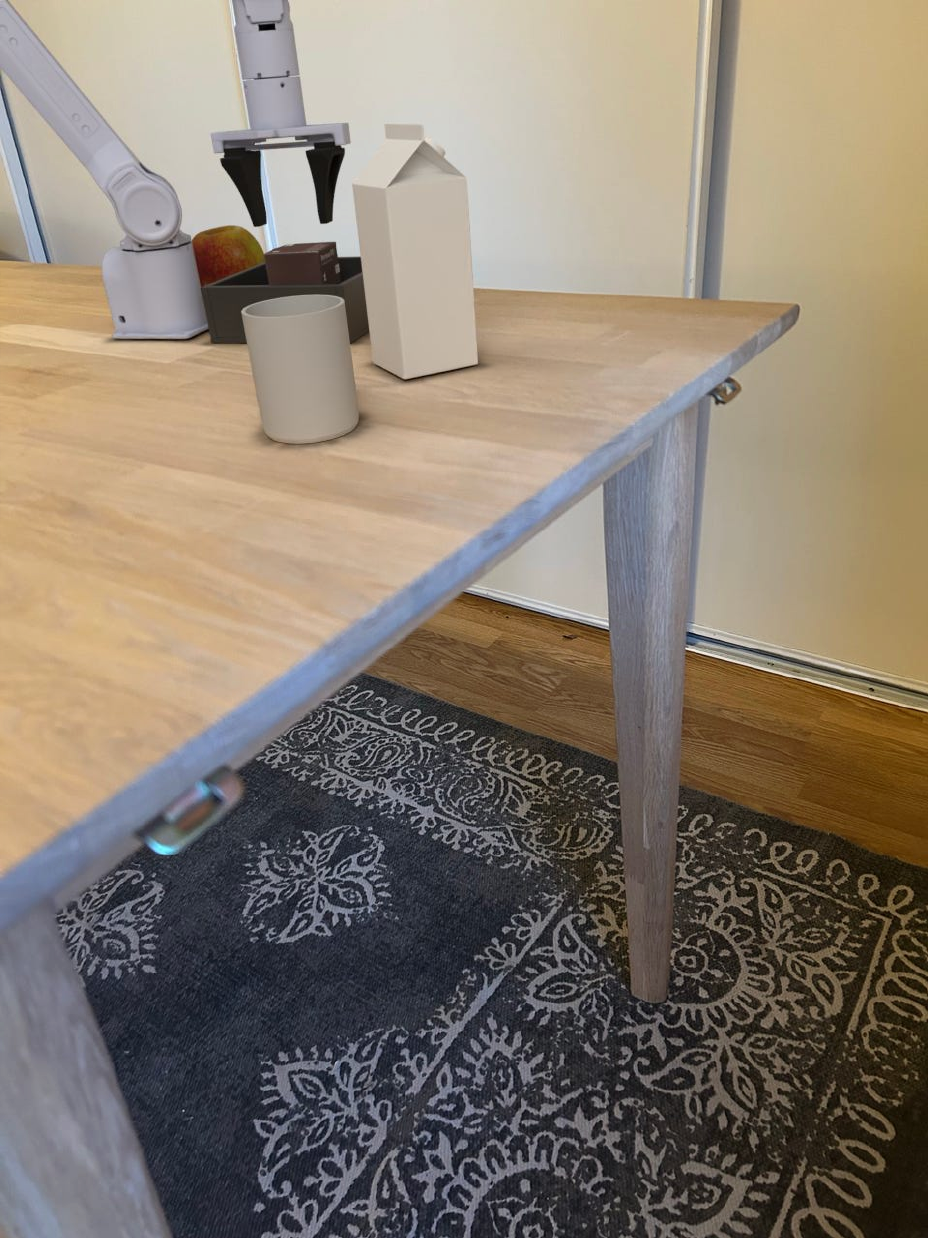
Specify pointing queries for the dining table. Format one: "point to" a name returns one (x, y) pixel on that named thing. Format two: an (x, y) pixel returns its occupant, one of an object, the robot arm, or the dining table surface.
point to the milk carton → (416, 256)
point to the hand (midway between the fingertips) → (293, 223)
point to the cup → (302, 367)
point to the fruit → (225, 252)
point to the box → (303, 264)
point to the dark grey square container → (254, 287)
